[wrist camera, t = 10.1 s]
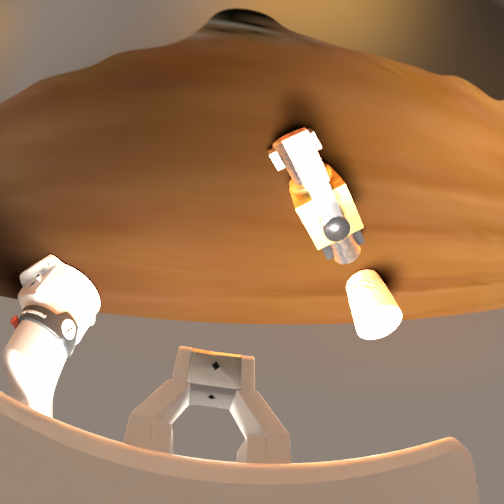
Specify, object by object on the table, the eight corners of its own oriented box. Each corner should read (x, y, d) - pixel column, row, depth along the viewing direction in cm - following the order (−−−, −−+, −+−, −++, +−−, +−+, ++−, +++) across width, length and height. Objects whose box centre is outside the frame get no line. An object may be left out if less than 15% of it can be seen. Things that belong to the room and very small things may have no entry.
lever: (349, 228, 34) (353, 235, 32) (326, 238, 35) (329, 245, 33) (306, 126, 27) (309, 128, 26) (278, 139, 28) (279, 142, 27)
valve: (361, 234, 44) (378, 264, 37) (324, 252, 46) (335, 284, 39) (307, 121, 35) (321, 132, 28) (263, 145, 37) (266, 161, 30)
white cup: (389, 280, 49) (409, 318, 41) (359, 305, 52) (373, 345, 44) (366, 258, 46) (386, 298, 38) (333, 287, 50) (347, 328, 41)
